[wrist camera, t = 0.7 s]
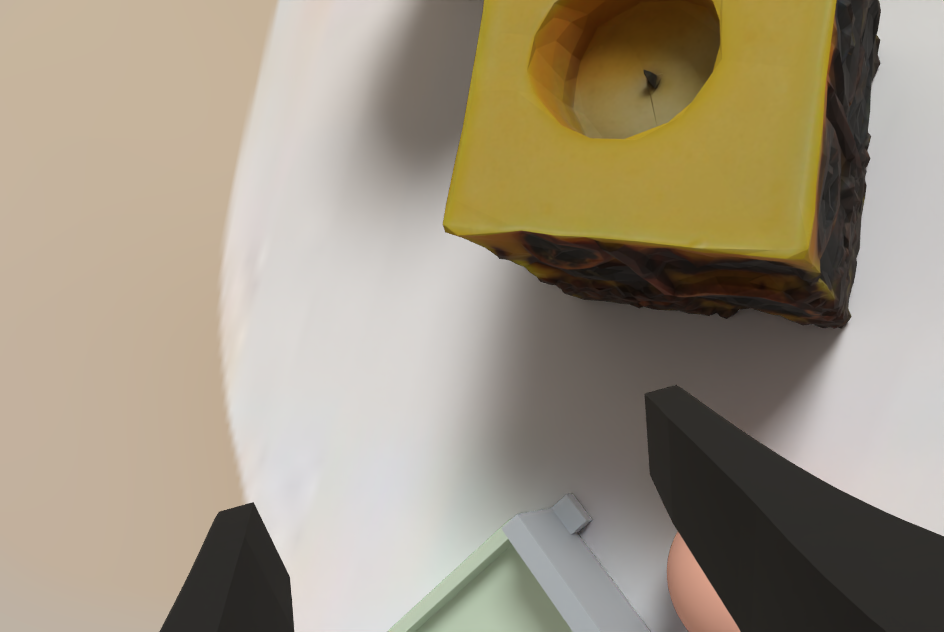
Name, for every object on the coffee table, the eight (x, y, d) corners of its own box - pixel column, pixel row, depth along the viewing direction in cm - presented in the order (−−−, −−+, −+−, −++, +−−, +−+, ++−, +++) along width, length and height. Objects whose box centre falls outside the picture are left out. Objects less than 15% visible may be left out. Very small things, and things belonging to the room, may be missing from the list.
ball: (888, 586, 23) (884, 620, 19) (762, 679, 24) (732, 730, 20) (768, 458, 25) (741, 461, 21) (659, 549, 26) (612, 570, 22)
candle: (849, 333, 25) (822, 273, 16) (567, 303, 30) (431, 245, 21) (888, 36, 25) (881, -173, 17) (606, 57, 30) (490, -95, 22)
